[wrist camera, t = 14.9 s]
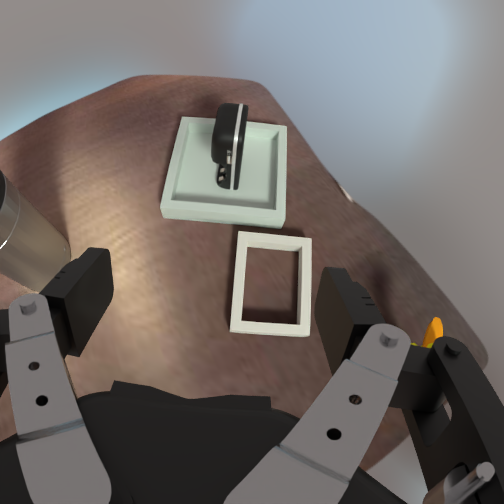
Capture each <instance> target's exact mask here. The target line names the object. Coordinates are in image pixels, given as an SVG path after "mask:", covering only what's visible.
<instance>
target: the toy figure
mask: <svg viewBox="0 0 504 504" xmlns="http://www.w3.org/2000/svg"><path fill="white" fill-rule="evenodd" d="M438 337H443V327H442V323H441V320H440V318H437V317H435V318H434V319H433V321H431V322H430V323H429V325H428V327H427V330H426V333H425V337H424V340H423V345H422V346H421V347H426V348H431V347H432V345H433V343H434V341H435V339H437V338H438ZM411 344H412V345H416V344H415V343H411ZM416 346H418V345H416Z"/></svg>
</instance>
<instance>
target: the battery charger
mask: <svg viewBox="0 0 504 504" xmlns="http://www.w3.org/2000/svg"><path fill="white" fill-rule="evenodd" d="M247 116H248V106H247V105H243V104H241V103H240V104H233V103H224V104H222V105H220V107H219V108H218V111H217V116H216V120H215V125H214V129H213V134H212V142H211V158H212V161H213V162H214V163H216V164H219V168H218V174H217V185H218V186H219V187H221V188H224V189H230V190H238V187H239V180H240V172H241V164H242V157H243V149H244V140H245V132H246V124H247Z"/></svg>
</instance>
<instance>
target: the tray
mask: <svg viewBox="0 0 504 504" xmlns="http://www.w3.org/2000/svg"><path fill="white" fill-rule="evenodd" d="M215 120H216V119H213V118H198V117H182V119H181V123H180V127H179V130H178V134H177V138H176V142H175V145H174V149H173V153H172V157H171V161H170V165H169V170H168V174H167V178H166V183H165V187H164V191H163V196H162V201H161V205H160V209H161V212H162V215H163V218H170V219H182V220H193V221H204V222H215V223H226V224H236V225H246V226H256V227H266V228H276V229H281V228H282V226H283V223H284V221H285V208H286V153H287V126H281V125H273V124H265V123H256V122H247V124H246V132H245V140H244V149H243V157H242V164H241V172H240V180H239V187H238V190H230V189H224V188H221V187H219V186H218V185H217V174H218V168H219V164H216V163H214V162H213V161H212V158H211V142H212V134H213V129H214V125H215Z"/></svg>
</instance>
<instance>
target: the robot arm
mask: <svg viewBox="0 0 504 504" xmlns="http://www.w3.org/2000/svg"><path fill="white" fill-rule="evenodd" d="M70 258H71V254H70V247H69V244H68V242H67V240H66V239H65V237H64V236H63V235H62V234H61V233H60V232H59V231H58V230H57V229H56V228H55V227H54V226H53V225H52V224H51V223H50V222H49V221H48V220H47V219H46V218H45V217H44V216H43V215H42V214H41V213H40V212H39V211H38V210H37V209H36V208H35V207H34V206H33V205H32V204H31V203H30V202H29V201H28V200H27V199H26V198H25V197H24V196H23V195H22V194H21V192H20V191H19V190H18V189H17V188H16V187H15V186H14V185H13V184H12V183H11V182H10V181H9V180H8V178H7V177H6V176H5V175H4V174H3V173H2V171H1V170H0V273H1V274H3V275H5V276H7V277H9V278H10V279H12V280H14V281H16V282H18V283H20V284H22V285H24V286H25V287H27V288H29V289H31V290H34V291H37V292H40V293H39V294H34V293H32V294H26V295H23V296H20V297H18V298H17V299H15V300H14V301H13V302H12V303H11V304H10V306H9V309H3V310H0V397H1V395H2V393H3V391H4V390H5V388H6V386H7V384H8V382H9V389H10V396H11V402H12V408H13V414H14V419H15V424H16V429H17V433H16V434H14V435H12V436H10V437H9V438H7V439H5V440H3V441H1V442H0V504H407V503H406V502H405V501H403V500H402V499H400V498H399V497H398V496H396V495H395V494H394V493H392V492H391V491H390V490H388V489H387V488H386V487H384V486H383V485H382V484H380V483H379V482H378V481H377V480H375V479H374V478H372V477H371V476H370V475H369V474H368V473H366V472H365V471H364V470H363V469H361V468H360V467H359V466H358V465H359V464H360V462H361V460H362V458H363V456H364V454H365V452H366V450H367V449H368V447H369V445H370V443H371V441H372V439H373V437H374V435H375V433H376V431H377V429H378V427H379V424H380V422H381V420H382V418H383V416H384V414H385V412H386V409H387V407H388V406H389V407H395V408H401V409H402V412H403V414H404V417H405V420H406V423H407V426H408V429H409V432H410V435H411V437H412V440H413V444H414V447H415V450H416V453H417V456H418V459H419V463H420V466H421V469H422V472H423V475H424V479H425V482H426V486H427V489H428V493H427V494H426V495H425V498H424V500H423V504H504V406H503V405H502V403H501V401H500V399H499V397H498V396H497V394H496V392H495V391H494V389H493V387H492V386H491V384H490V382H489V381H488V379H487V378H486V376H485V374H484V373H483V371H482V370H481V368H480V366H479V365H478V363H477V362H476V360H475V359H474V357H473V356H472V354H471V353H470V351H469V350H468V348H467V347H466V346H465V345H464V344H463V343H462V342H460V341H458V340H457V339H454V338H451V337H446V336H443V337H438V338H437V339H435V341H434V343H433V345H432V347H431V348H426V347H421V346H416V345H412V344H411V341H410V338H409V336H408V335H407V334H406V333H405V332H404V331H403V330H401V329H400V328H398V327H395V326H393V325H389V324H387V323H386V322H385V320H384V318H383V317H382V315H381V313H380V311H379V310H378V308H377V306H375V303H374V301H373V300H372V299H371V296H370V295H369V293H368V292H367V290H366V289H365V288H364V287H363V286H361V285H360V284H359V283H358V282H353V281H352V280H351V278H350V276H349V275H348V273H347V271H346V269H344V268H333V267H325V268H324V269H323V272H322V276H321V280H320V285H319V289H318V294H317V298H316V302H315V320H316V323H317V327H318V330H319V333H320V336H321V340H322V343H323V346H324V349H325V353H326V356H327V359H328V363H329V366H330V370H331V373H332V376H333V377H332V378H331V380H330V381H329V382H328V384H327V385H326V387H325V388H324V389H323V391H322V392H321V393H320V395H319V396H318V397H317V399H316V400H315V401H314V403H313V404H312V405H311V406H310V408H309V409H308V410H307V412H306V413H305V414H304V415H303V417H302V418H301V419H299V418H297V417H296V416H294V415H291V414H289V413H287V412H284V411H281V410H278V409H274V408H271V400H270V397H268V396H243V395H225V396H217V397H208V398H199V399H186V398H183V397H180V396H177V395H174V394H171V393H168V392H165V391H162V390H159V389H156V388H153V387H151V386H145V385H138V384H132V383H126V382H120V381H115V380H114V382H113V385H112V388H111V390H110V391H104V392H97V393H92V394H88V395H85V396H82V397H80V398H78V397H77V394H76V391H75V388H74V386H73V383H72V380H71V377H70V374H69V371H68V368H67V365H66V362H65V357H66V355H72V356H76V357H80V355H81V353H82V351H83V350H84V348H85V346H86V344H87V342H88V341H89V339H90V337H91V335H92V333H93V332H94V330H95V328H96V326H97V325H98V323H99V321H100V319H101V318H102V316H103V314H104V313H105V311H106V309H107V307H108V306H109V304H110V302H111V300H112V297H113V291H114V285H113V277H112V268H111V258H110V252H109V250H108V249H104V248H93V247H89V248H88V249H87V250H86V251H85V252H84V253H83V254H82V255H81V256H80V257H79V258H78V259H75V260H73V261H71V262H70ZM446 398H447V400H448V402H449V405H450V407H451V410H452V417H451V421H450V420H449V417H448V415H447V412H446V410H445V408H444V406H443V404H442V403H443V402H444V401H445V399H446Z"/></svg>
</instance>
